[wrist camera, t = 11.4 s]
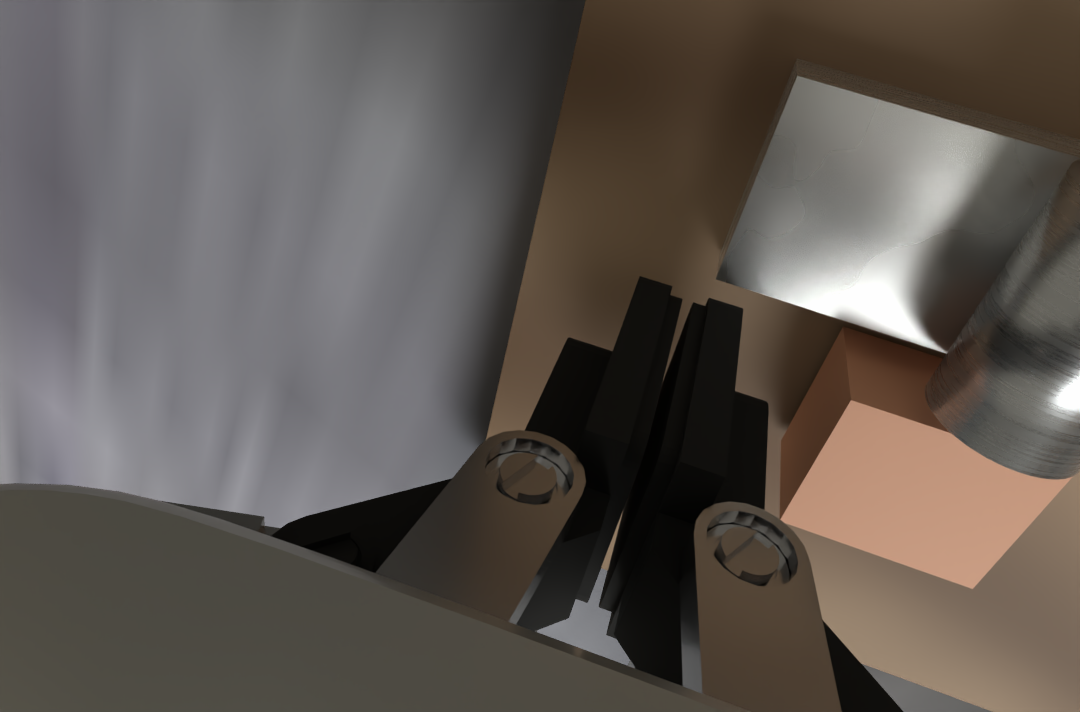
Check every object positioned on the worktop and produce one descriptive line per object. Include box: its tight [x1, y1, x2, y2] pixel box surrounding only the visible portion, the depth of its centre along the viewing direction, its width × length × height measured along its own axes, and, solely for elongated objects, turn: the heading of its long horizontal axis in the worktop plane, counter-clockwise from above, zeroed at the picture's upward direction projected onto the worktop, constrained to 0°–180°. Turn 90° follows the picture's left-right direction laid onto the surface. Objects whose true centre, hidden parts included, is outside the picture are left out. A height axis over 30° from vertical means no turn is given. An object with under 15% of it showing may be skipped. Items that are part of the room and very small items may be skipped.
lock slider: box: [779, 327, 1072, 589], centre depth 12 cm, size 3×2×2 cm
